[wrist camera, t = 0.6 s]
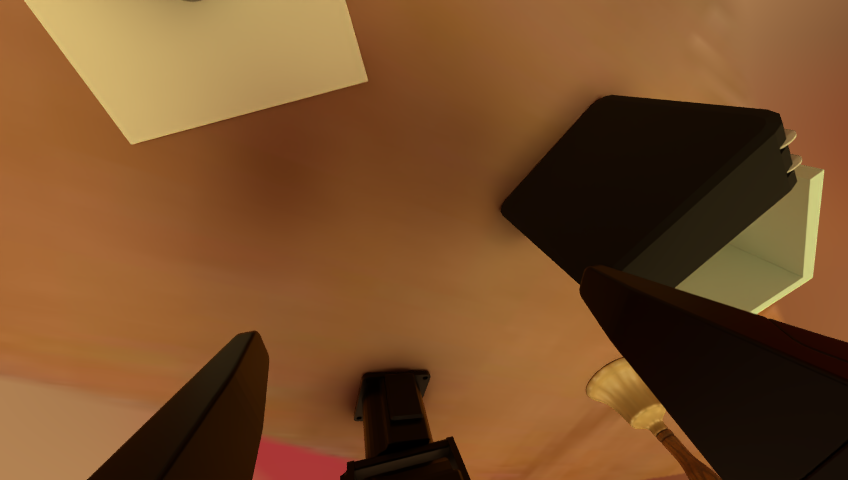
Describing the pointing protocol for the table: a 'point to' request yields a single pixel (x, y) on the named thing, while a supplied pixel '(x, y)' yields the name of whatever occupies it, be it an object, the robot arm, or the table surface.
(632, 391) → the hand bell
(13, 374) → the table surface
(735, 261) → the l-shaped corner panel
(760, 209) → the electronic device
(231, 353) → the robot arm
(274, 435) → the table surface
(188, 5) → the mat
